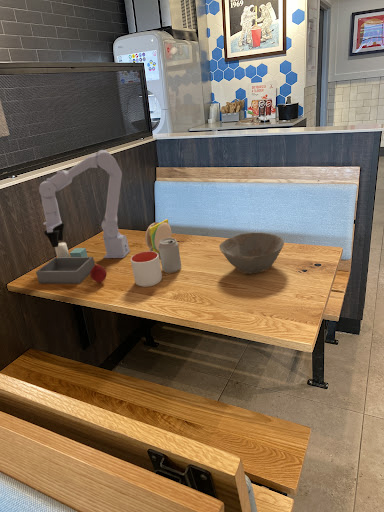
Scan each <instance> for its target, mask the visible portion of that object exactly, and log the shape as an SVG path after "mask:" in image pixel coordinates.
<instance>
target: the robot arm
mask: <svg viewBox="0 0 384 512" xmlns="http://www.w3.org/2000/svg"><path fill="white" fill-rule="evenodd" d="M98 166H99V167H100V168H101V169H103V170H105V171H106V173H107V174H108V175H109V180H108V187H107V197H106V207H105V214H104V217H103V219H102V222H101V226H100V227H101V229H102V233H103V235H102V239H103V243H104V247H105V253H106V254H105V255H103V258H104V259H112V258H113V259H124V258H125V257H126V256H127V255H128V253H130V251H131V250H130V247H129V241H128V238H127V235H125V234H122V233H120V231H119V226H118V210H119V203H120V195H121V194H120V193H121V185H122V177H123V172H122V170H121V168H120V166H119V164H118V162H117V159H116V158H114V156H113V155H112V154H111V153H110V152H108V150H105V149H100V150H98V151H97V152H94V153H92V154H90V155H88V156H87V157H85V158H84V159H83V160H81V161H80V162H78V163H77V164H75V165H74V166H72V167H71V168H70V169H69V170H66V169H65V170H64V169H62V170H57V171H56V174H54V175H52V176H51V177H48V178H46V180H44V181H42V182H41V183H40V185H39V188H38V191H39V194H40V197H41V198H40V200H41V205H42V209H43V214H44V219H45V221H44V222H43V226H46V228H45V229H46V230H44V231H43V233H44V235H45V236H46V237H47V239H48V240H49V242H50V245H51V246H52V248H55V247H58V243H59V242H61V241H62V242H63V240H64V228H65V224H66V223H65V222H63V221H62V219H61V214H60V210H59V204H58V200H57V198H56V192H59V191H60V190H62V189H64V188H65V187H67V186H68V185H70V184H71V183H73V179H74V178H75V177H76V176H78V175H80V174H81V173H83V172H84V171H86V170H88V169H91V168H92V169H93V168H94V169H97V168H98Z"/></svg>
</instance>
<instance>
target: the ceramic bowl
mask: <svg viewBox="0 0 384 512" xmlns="http://www.w3.org/2000/svg"><path fill="white" fill-rule="evenodd" d="M284 244H285V242H284V238H281V236H278V235H275V234H272V233H265V232H247V233H241V234H237V235H235V236H231V237H229V238H227V239H225V240H224V241H223V242H221V243H220V244H219V246H218V247H219V250H220V252H221V253H222V255H223V256H224V257H225V258H226V260H227V261H228V262H229V263H230V264H231V265H232V266H233V267H234V268H235V270H237V271H239V272H241V273H244V274H259V273H261V272H265V271H266V270H268V269H270V268H272V266H273V264H274V263H275V262H276V260H277V259H278V256H279V255H280V253H281V252H282V249H283V248H284V246H285V245H284Z"/></svg>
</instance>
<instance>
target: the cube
mask: <svg viewBox="0 0 384 512" xmlns="http://www.w3.org/2000/svg"><path fill="white" fill-rule="evenodd" d="M69 256H70V257H89V256H88V253H87V248H86V247H76V248H74V249H73V250H72V251H70V252H69Z"/></svg>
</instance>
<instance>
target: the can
mask: <svg viewBox="0 0 384 512" xmlns="http://www.w3.org/2000/svg"><path fill="white" fill-rule="evenodd" d="M159 243H160V244H159V246H158V247H159V253H158V254H159V260H160V267H161V271H163V272H165V273H168V274H169V273H171V274H174V273H177V272H178V271H180V269H181V268H182V260H181V254H180V246H179V242H178V241H177V239H176V238H174V237H171V238H166V239H162V240H161V241H160V242H159Z"/></svg>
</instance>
